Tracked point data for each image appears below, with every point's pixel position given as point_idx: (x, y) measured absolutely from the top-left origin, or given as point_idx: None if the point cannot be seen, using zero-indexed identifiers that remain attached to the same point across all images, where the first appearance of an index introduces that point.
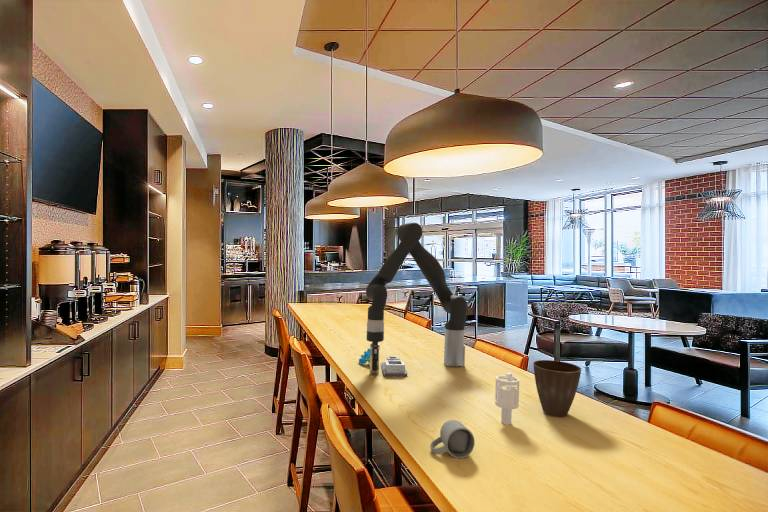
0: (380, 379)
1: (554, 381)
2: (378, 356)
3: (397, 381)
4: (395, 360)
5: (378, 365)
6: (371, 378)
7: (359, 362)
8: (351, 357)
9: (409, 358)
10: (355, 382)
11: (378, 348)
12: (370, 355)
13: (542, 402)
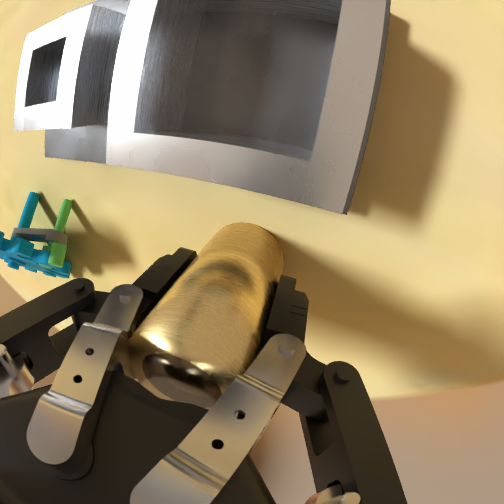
0: (409, 262)
1: None
2: (223, 359)
3: (490, 155)
4: (127, 37)
5: (252, 274)
6: (361, 312)
7: (54, 276)
8: (7, 265)
9: (10, 13)
10: (388, 391)
11: (209, 500)
12: None
13: None
